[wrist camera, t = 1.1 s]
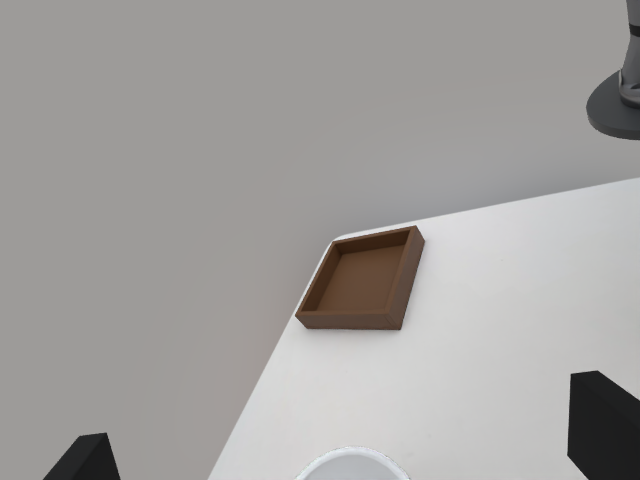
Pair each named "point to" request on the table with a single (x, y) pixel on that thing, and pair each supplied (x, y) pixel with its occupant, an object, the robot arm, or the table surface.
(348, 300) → the tray
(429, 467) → the table surface
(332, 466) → the cup
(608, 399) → the robot arm
